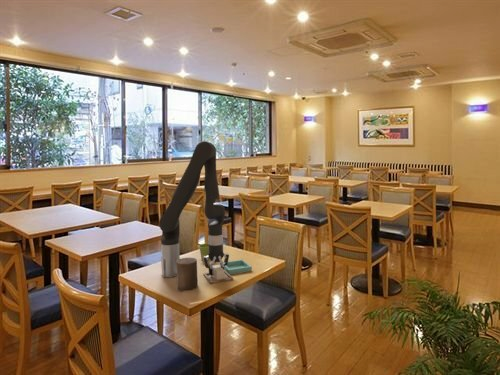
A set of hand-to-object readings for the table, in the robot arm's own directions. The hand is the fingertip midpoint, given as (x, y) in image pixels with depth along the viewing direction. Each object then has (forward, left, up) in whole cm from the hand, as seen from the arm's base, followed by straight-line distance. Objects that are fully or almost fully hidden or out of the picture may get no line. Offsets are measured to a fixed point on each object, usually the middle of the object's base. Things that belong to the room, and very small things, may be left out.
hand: (216, 274), depth 184 cm
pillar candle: (-17, -8, -2) cm, 19 cm away
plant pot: (+3, +29, -2) cm, 29 cm away
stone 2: (0, -5, -1) cm, 5 cm away
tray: (0, -3, -1) cm, 3 cm away
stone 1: (0, 0, -1) cm, 1 cm away
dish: (+13, +5, -1) cm, 14 cm away
